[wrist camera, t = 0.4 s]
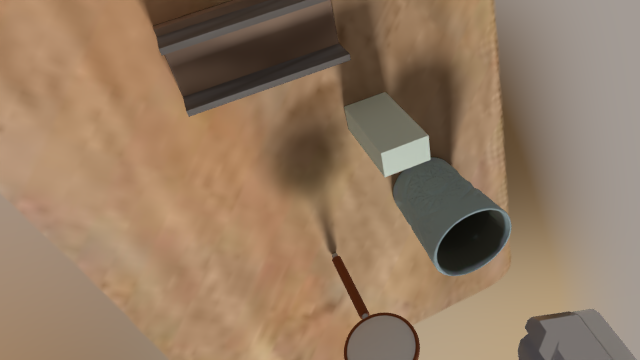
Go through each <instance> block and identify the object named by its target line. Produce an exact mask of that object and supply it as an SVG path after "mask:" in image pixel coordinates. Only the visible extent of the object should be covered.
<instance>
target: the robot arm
mask: <svg viewBox="0 0 640 360" xmlns="http://www.w3.org/2000/svg"><path fill="white" fill-rule="evenodd" d="M525 329H526V330H527V332H528V334H527V335H526V336H525V337H524V338H522V339H521V340H520V343H519V347H518V357H519V360H637V359H636V358H635V357H634V356H633V354H632V353H631V352H630V351H629V349H628V348H627V347H626V346H625V344H624V343H623V342H622V341H621V339H620V338H619V337H618V336H617V334H616V333H615V332H614V331H613V330H612V328H611V327H610V326H609V324H608V323H607V322H606V321H605V320H604V318H603V317H602V316H601V315H600V313H599V312H597V311H596V310H594V309H588V310H582V311H575V312H563V313H557V314H550V315H542V316H536V317H531V318H530V319H529V320H527V324H526V326H525Z"/></svg>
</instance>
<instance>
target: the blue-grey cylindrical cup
mask: <svg viewBox="0 0 640 360" xmlns="http://www.w3.org/2000/svg"><path fill="white" fill-rule="evenodd" d="M430 159H431V160H429V161H426V162H424V163H421V164H418V165H416V166H413V167H411V168H408V169H405V170H403V171H402V173H401V174H400V175H399V176H398V178H397V180H396V182H395V185H394V188H393V196H394V200H395V203H396V204H397V206H398V208H399V209H400V211H401V212H402V213H403V215H404V217H405V219H406V220H407V222H408V223H409V224H410V225H411V227H412V230H413V231H414V233H415V235H416V236H417V238H418V239H419V241H420V242H421V244H422V246H423V247H424V249H425V250H426V252H427V253H428V256H429V257H430V259H431V261H432V262H433V264H434V265H435V267H436V268H437V270H438V271H439V272H441V273H443V274H445V275H449V276H460V275H464V274H468V273H471V272H473V271H475V270H477V269H479V268H481V267H483V266H484V265H486V264H487V263H488V262H490V261H491V260H492V259H493V258H494V257H495V256H496V255H497V254H498V253H499V252H500V251H501V250H502V249H503V247H504V246H505V244H506V242H507V240H508V238H509V236H510V232H511V221H510V217H509V216H508V214H507V213H506V212H505V211H504V210H503V209H501V208H500V207H499V206H498V205H497V204H495V203H494V202H493V201H492V200H491V199H489V198H488V197H487V196H486V195H484V194H483V193H482V192H481V191H480V190H478V189H476V188H474V187H473V186H472V184H471V183H470V182H468V181H467V180H465V179H464V178H463V177H462V176H461V175H460V174H459V173H458V172H457V171H456V170H455V169H454V168H453V167H452V166H451V165H450V164H448V163H447V162H446V161H444V160H443V159H439V158H435V157H430Z"/></svg>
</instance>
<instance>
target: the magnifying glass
mask: <svg viewBox="0 0 640 360" xmlns="http://www.w3.org/2000/svg"><path fill="white" fill-rule="evenodd" d="M332 257H333V259H332V261H333V263H334V265H335V267H336V269H337V271H338V273H339V275H340V277H341V279H342V282H343V284H344V286H345V288H346V290H347V292H348V294H349V296H350V298H351V300H352V302H353V304H354V306H355V308H356V310H357V312H358V314H359V316H360V318H361V319H362V320H361V321H360V322H358V323H357V324H356V325H355V326H354V328H353V329H352V330H351V332H350V333H349V335H348V337H347V340H346V342H345V347H344V358H345V360H418V357H419V352H420V344H419V338H418V335H417V333H416V331H415V330H414V328H413V326H412V325H411V324H410V323H409V322H408V321H407V320H406V319H404V318H403V317H401V316H399V315H396V314H392V313H377V314H373V315H370V316H369V312H368V310H367V308H366V306H365V304H364V302H363V300H362V298H361V296H360V294H359V292H358V291H357V289H356V287H355V285H354V283H353V281H352V279H351V277H350V275H349V273H348V271H347V269H346V267H345V265H344V263H343V261H342V259H341V257H340V256H338V255H337V254H336V253H334V254H333V255H332Z"/></svg>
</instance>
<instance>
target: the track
mask: <svg viewBox="0 0 640 360" xmlns="http://www.w3.org/2000/svg"><path fill="white" fill-rule="evenodd" d="M153 29H154V32H155V34H156V36H157V41H158V47H159V50H160V53H161V55H165V57H166V59H167V61H168V64H169V66H170V68H171V71H172V73H173V75H174V77H175V80H176V82H177V84H178V87H179V89H180V91H181V93H182V96H183V99H184V103H185V107H186V111H187V114H188V116H192V115H195V114H198V113H201V112H204V111H206V110H209V109H212V108H215V107H218V106H221V105H224V104H226V103H229V102H232V101H235V100H238V99H241V98H244V97H246V96H249V95H252V94H255V93H258V92H261V91H264V90H266V89H269V88H272V87H275V86H278V85H281V84H284V83H286V82H289V81H292V80H295V79H298V78H301V77H304V76H306V75H309V74H312V73H315V72H318V71H321V70H324V69H326V68H329V67H332V66H335V65H338V64H341V63H344V62H346V61H349V60H351V59H350V54H349V53H348V52H347V51H346V50H345V49H344V48H343V47H342V46H341V45H340V44H339V42H338V37H337V32H336V26H335V21H334V16H333V11H332V6H331V0H232V1H229V2H226V3H223V4H220V5H217V6H214V7H211V8H208V9H204V10H201V11H198V12H195V13H192V14H189V15H186V16H183V17H180V18H177V19H174V20H170V21H167V22H164V23H161V24H158V25H155V26H153Z"/></svg>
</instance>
